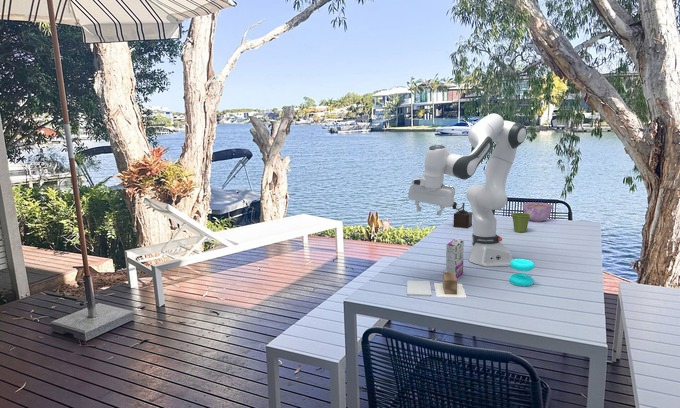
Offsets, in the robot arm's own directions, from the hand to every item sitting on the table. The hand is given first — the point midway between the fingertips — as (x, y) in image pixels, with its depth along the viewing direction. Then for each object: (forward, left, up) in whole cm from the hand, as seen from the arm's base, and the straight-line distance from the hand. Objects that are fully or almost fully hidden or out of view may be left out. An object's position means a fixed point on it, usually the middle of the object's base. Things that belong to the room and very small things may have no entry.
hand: (428, 213), depth 196 cm
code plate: (-9, +12, -31) cm, 35 cm away
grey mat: (+4, +12, -31) cm, 34 cm away
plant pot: (-64, -98, -31) cm, 121 cm away
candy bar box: (-13, -7, -31) cm, 34 cm away
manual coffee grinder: (-28, -109, -31) cm, 116 cm away
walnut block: (-9, +12, -31) cm, 34 cm away
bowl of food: (-83, -132, -31) cm, 159 cm away
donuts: (-41, 0, -31) cm, 51 cm away
